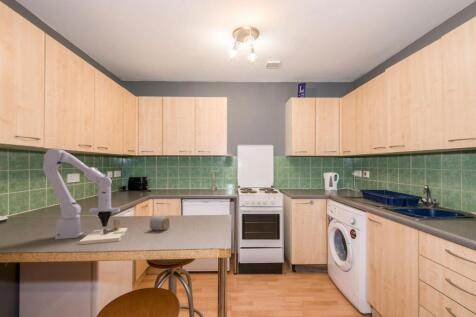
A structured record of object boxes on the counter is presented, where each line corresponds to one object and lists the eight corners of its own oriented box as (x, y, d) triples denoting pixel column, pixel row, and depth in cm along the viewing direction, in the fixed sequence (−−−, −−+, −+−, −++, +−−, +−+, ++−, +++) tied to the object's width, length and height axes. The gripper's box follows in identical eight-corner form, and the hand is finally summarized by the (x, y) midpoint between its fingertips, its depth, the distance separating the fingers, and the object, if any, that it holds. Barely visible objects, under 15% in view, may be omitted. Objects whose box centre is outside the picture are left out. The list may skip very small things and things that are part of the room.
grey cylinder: (163, 232, 121) (163, 217, 122) (149, 231, 123) (149, 216, 124) (173, 227, 132) (173, 213, 132) (160, 226, 134) (160, 213, 134)
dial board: (79, 244, 104) (79, 240, 104) (93, 233, 122) (93, 230, 122) (118, 241, 108) (118, 237, 108) (127, 230, 126) (127, 227, 126)
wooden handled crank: (105, 233, 114) (105, 223, 114) (101, 233, 114) (101, 222, 114) (119, 228, 122) (119, 218, 122) (116, 228, 123) (116, 218, 123)
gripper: (122, 198, 127) (122, 223, 126) (94, 199, 126) (94, 224, 125) (116, 200, 120) (116, 227, 119) (86, 201, 119) (86, 228, 118)
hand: (104, 226), depth 122 cm, fingers closed
